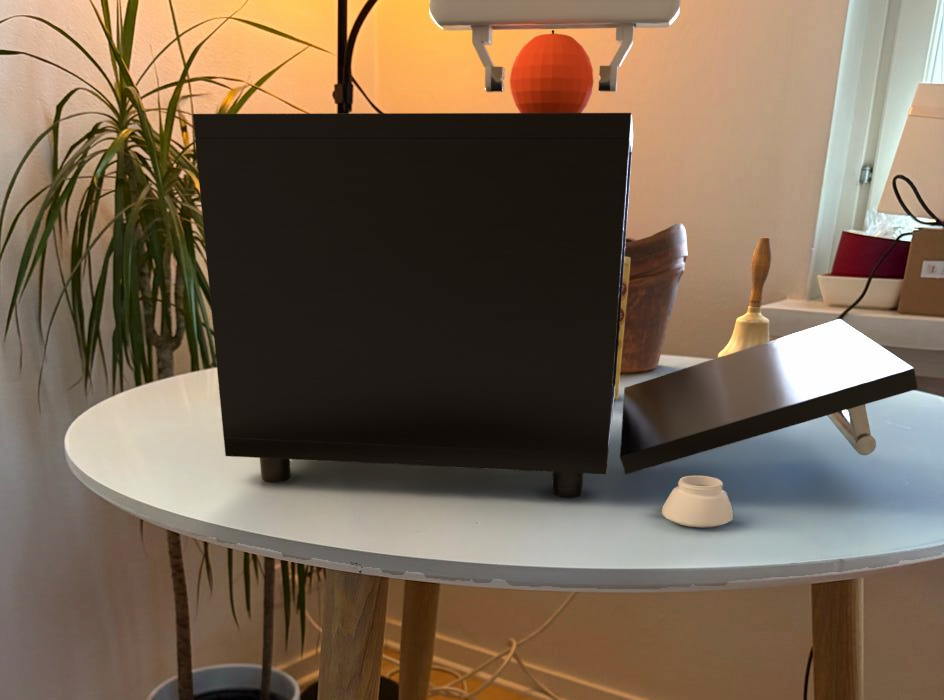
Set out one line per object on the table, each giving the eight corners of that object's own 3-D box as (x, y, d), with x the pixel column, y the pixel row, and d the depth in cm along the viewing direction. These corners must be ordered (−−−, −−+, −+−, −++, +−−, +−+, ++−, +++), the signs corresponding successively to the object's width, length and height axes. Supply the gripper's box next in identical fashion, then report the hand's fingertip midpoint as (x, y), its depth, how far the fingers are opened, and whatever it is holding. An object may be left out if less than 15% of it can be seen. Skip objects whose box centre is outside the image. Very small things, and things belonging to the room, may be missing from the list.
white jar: (694, 535, 69) (746, 524, 71) (698, 494, 68) (751, 484, 70) (647, 516, 73) (698, 506, 75) (651, 477, 72) (703, 468, 74)
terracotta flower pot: (518, 357, 139) (522, 219, 131) (652, 354, 142) (664, 219, 135) (551, 380, 123) (558, 224, 116) (701, 376, 126) (718, 225, 119)
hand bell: (741, 352, 145) (755, 235, 138) (790, 359, 139) (807, 237, 132) (705, 357, 140) (718, 236, 133) (754, 365, 134) (771, 239, 127)
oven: (612, 421, 102) (633, 134, 91) (604, 507, 75) (631, 112, 64) (332, 410, 106) (318, 133, 95) (228, 486, 79) (192, 113, 68)
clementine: (525, 131, 88) (527, 39, 85) (601, 131, 86) (607, 36, 83) (498, 126, 81) (499, 26, 78) (580, 126, 79) (585, 22, 76)
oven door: (643, 455, 102) (854, 393, 96) (645, 544, 77) (931, 466, 71) (624, 387, 99) (839, 318, 93) (619, 456, 74) (914, 368, 68)
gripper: (419, -118, 75) (421, 89, 81) (692, -128, 72) (674, 87, 78) (434, -97, 81) (435, 95, 87) (688, -105, 78) (671, 94, 84)
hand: (550, 91), depth 82 cm, fingers open, 8 cm apart
